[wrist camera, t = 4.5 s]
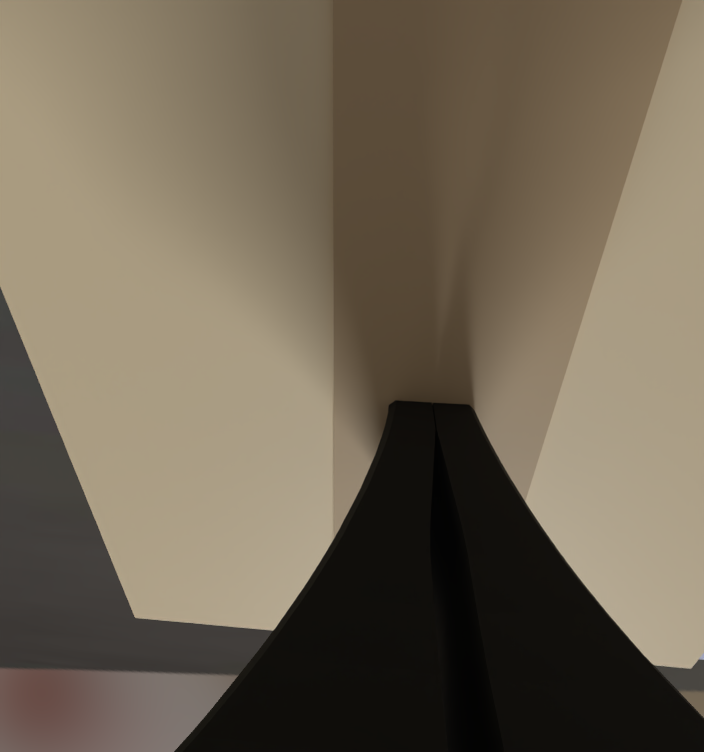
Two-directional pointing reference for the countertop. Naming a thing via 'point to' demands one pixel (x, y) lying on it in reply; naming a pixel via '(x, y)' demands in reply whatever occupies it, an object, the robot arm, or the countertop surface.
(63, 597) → the countertop surface
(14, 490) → the countertop surface
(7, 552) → the countertop surface
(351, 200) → the cardboard lid
